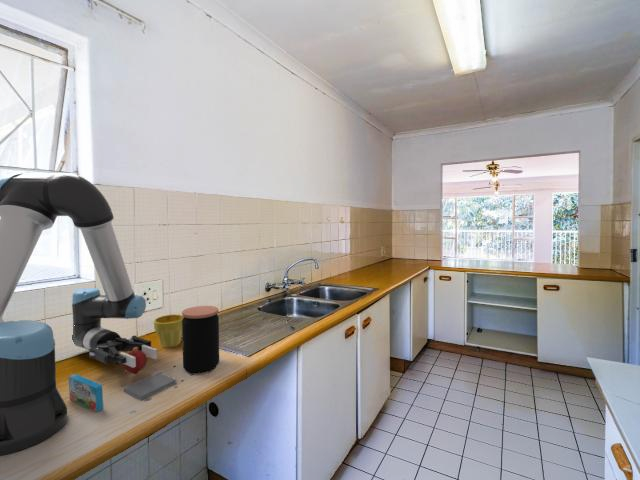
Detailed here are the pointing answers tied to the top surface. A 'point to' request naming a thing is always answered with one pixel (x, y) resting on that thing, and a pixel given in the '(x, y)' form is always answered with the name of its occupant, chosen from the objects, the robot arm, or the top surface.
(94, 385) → the blue flat box
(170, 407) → the top surface
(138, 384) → the slate trivet
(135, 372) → the onion
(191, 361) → the coffee jar
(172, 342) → the plant pot
